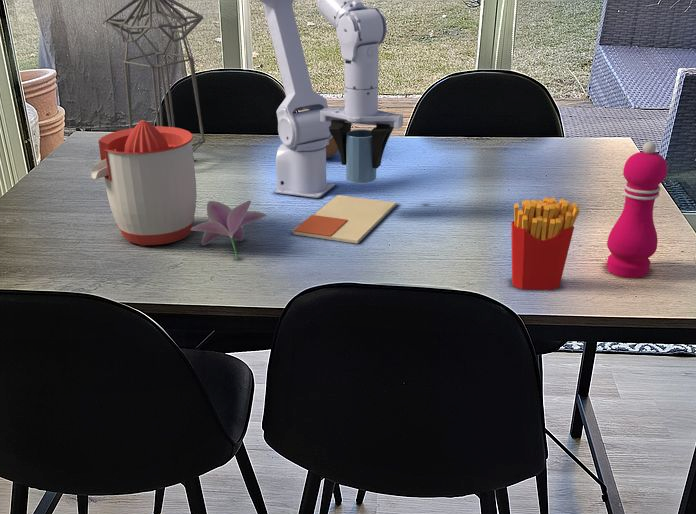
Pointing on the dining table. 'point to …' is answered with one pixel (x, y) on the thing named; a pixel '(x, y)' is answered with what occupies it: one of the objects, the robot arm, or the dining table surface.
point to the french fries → (541, 242)
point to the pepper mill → (637, 215)
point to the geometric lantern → (141, 6)
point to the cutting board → (345, 219)
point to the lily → (226, 221)
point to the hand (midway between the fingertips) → (360, 165)
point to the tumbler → (359, 156)
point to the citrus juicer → (149, 182)
